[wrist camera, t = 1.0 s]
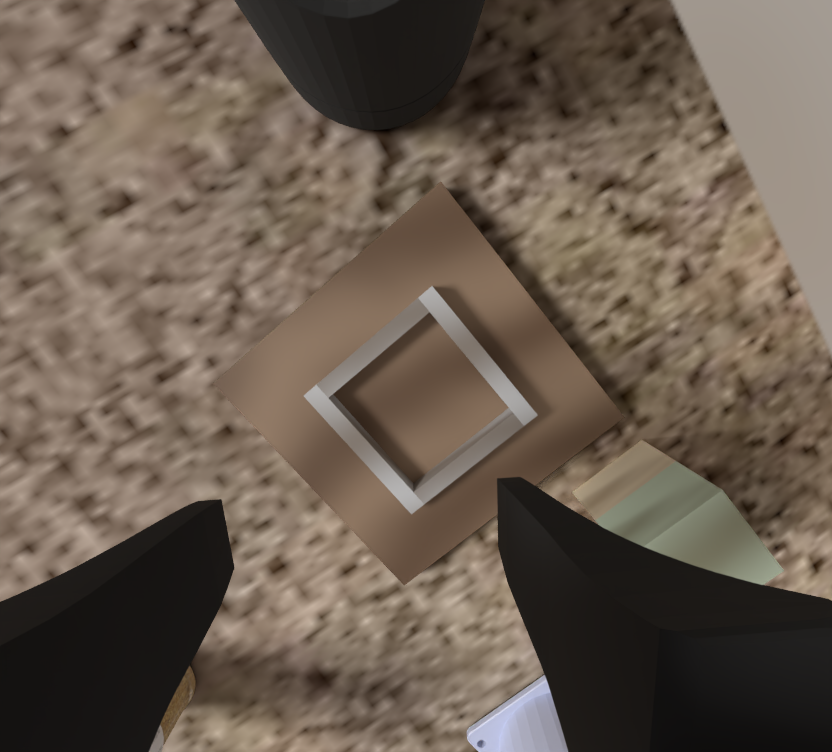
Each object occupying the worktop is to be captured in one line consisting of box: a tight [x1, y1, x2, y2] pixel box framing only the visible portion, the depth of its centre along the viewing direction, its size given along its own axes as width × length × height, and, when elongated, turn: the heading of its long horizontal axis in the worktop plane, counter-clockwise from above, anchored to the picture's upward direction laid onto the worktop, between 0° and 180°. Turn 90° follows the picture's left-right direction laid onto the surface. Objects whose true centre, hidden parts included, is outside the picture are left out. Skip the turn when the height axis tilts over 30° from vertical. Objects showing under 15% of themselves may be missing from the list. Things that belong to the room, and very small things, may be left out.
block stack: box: [572, 440, 784, 585], centre depth 20 cm, size 4×4×6 cm
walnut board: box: [213, 182, 624, 585], centre depth 21 cm, size 14×14×2 cm
